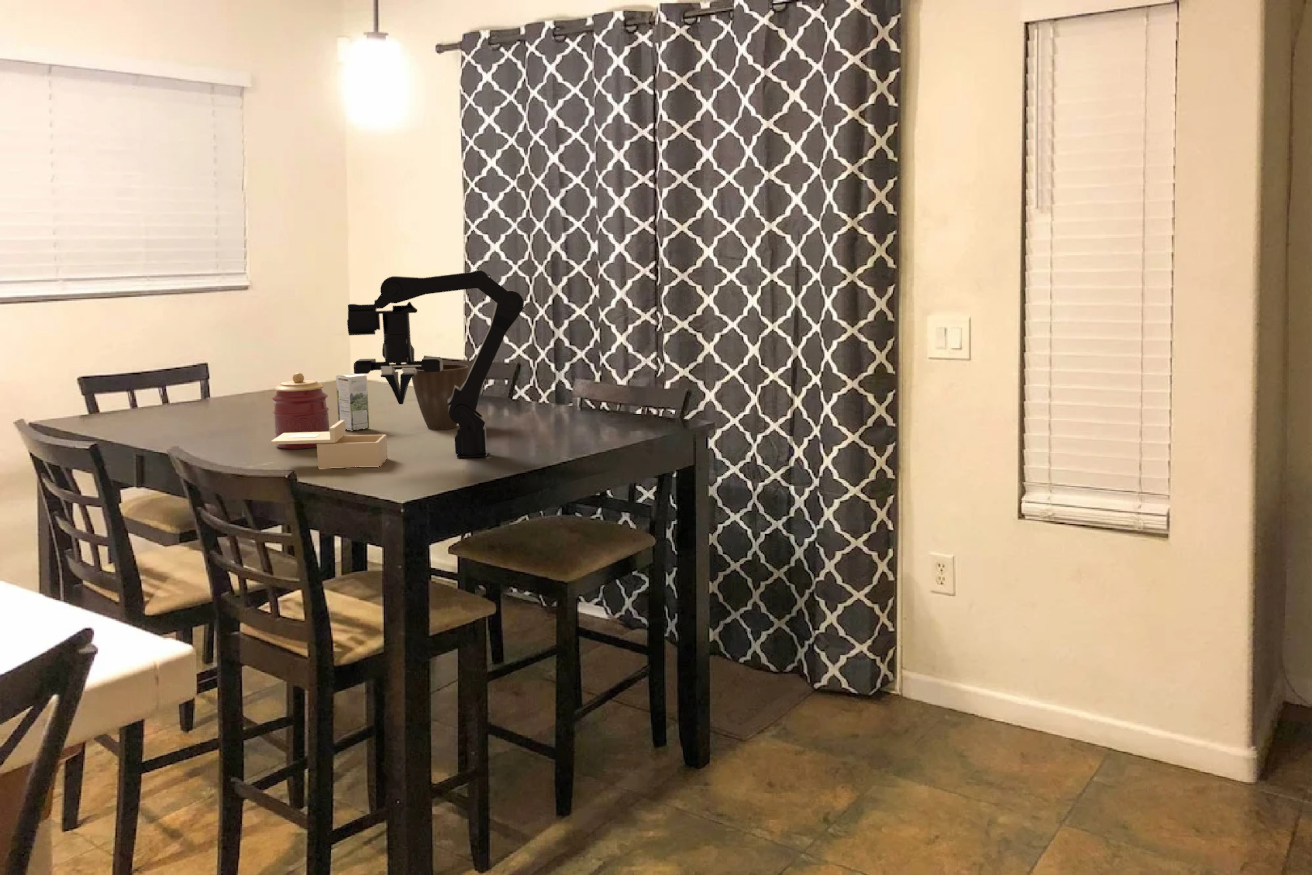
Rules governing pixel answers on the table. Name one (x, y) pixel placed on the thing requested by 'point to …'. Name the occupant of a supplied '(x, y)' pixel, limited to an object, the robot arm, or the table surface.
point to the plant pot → (438, 393)
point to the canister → (300, 409)
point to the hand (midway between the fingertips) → (401, 404)
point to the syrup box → (352, 400)
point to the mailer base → (353, 451)
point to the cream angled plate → (313, 436)
